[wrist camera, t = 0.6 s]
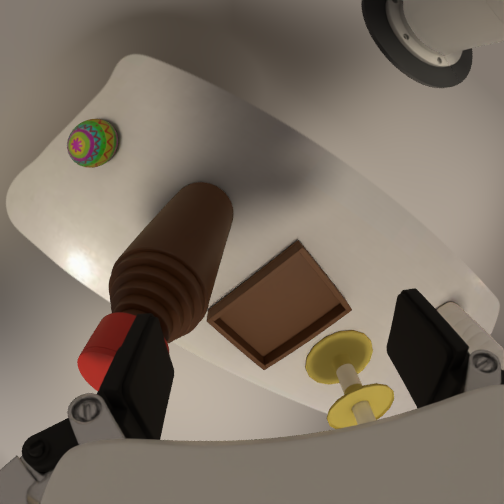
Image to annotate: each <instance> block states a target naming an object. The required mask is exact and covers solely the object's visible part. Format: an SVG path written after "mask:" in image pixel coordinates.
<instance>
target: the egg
mask: <svg viewBox="0 0 504 504" xmlns="http://www.w3.org/2000/svg"><path fill="white" fill-rule="evenodd" d="M117 145H118V136H117V133H116V131H115V129H114V127H113V126H112V125H111V124H110V123H108V122H107V121H104V120H101V119H90V120H87V121H84V122H82V123H80V124H79V125H78V126H76V127H75V128H74V129H73V131H72V132H71V134H70V136H69V138H68V142H67V149H68V153H69V155H70V157H71V159H72V160H73V161H74V162H75V163H77V164H79V165H81V166H83V167H98V166H100V165H103V164H105V163H106V162H107V161H109V160H110V159H111V158H112V156H113V155H114V153H115V151H116V149H117Z"/></svg>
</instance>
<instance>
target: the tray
mask: <svg viewBox="0 0 504 504" xmlns="http://www.w3.org/2000/svg"><path fill="white" fill-rule="evenodd" d="M350 311H352V309H351V307H350V306H349V304H348V303H347V301H346V300H345V298H344V297H343V296H342V294H341V293H340V292H339V290H338V289H337V288H336V287H335V285H334V284H333V283H332V281H331V280H330V279H329V278H328V276H327V275H326V274H325V272H324V271H323V270H322V269H321V267H320V266H319V265H318V264H317V262H316V261H315V260H314V259H313V257H312V256H311V255H310V254H309V252H308V251H307V250H306V249H305V247H304V246H303V245H302V244H301V242H300V241H299V240H298V241H296V242H295V243H294V244H292V245H291V246H290V247H289V248H287V249H286V250H285V251H284V252H282V253H281V254H280V255H279V256H277V257H276V258H275V259H273V260H272V261H271V262H270V263H268V264H267V265H266V266H264V267H263V268H262V269H261V270H259V271H258V272H257V273H256V274H254V275H253V276H252V277H250V278H249V279H248V280H246V281H245V282H244V283H243V284H241V285H240V286H239V287H237V288H236V289H235V290H234V291H232V292H231V293H230V294H228V295H227V296H226V297H224V298H223V299H222V300H221V301H219V302H218V303H217V304H215V305H214V306H213V307H211V308H210V309H209V310H208V315H207V322H208V323H209V324H210V325H211V326H213V327H214V328H215V329H216V330H217V331H218V332H219V333H221V334H222V335H223V336H224V337H225V338H226V339H227V340H229V341H230V342H231V343H232V344H233V345H234V346H235V347H237V348H238V349H239V350H240V351H241V352H243V353H244V354H245V355H246V356H247V357H248V358H250V359H251V360H252V361H253V362H254V363H256V364H257V365H258V366H259V367H261V368H262V369H263V370H265V369H267V368H268V367H270V366H272V365H273V364H275V363H276V362H278V361H280V360H281V359H283V358H284V357H286V356H287V355H289V354H290V353H292V352H293V351H295V350H296V349H298V348H299V347H301V346H302V345H304V344H305V343H307V342H308V341H310V340H311V339H313V338H314V337H315V336H317V335H318V334H320V333H321V332H323V331H324V330H325V329H327V328H328V327H330V326H331V325H332V324H334V323H335V322H337V321H338V320H339V319H341V318H342V317H343V316H345V315H346V314H347V313H349V312H350Z"/></svg>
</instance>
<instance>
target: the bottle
mask: <svg viewBox="0 0 504 504" xmlns="http://www.w3.org/2000/svg"><path fill="white" fill-rule="evenodd" d="M232 221H233V207H232V203H231V201H230V199H229V197H228V196H227V195H226V193H225V192H224V191H222V190H221V189H220V188H218V187H217V186H215V185H212V184H209V183H204V182H197V183H192V184H189V185H187V186H185V187H184V188H182V189H181V190H180V191H179V192H178V193H177V194H176V195H175V196H174V197H173V198H172V199H171V200H170V201H169V202H168V203H167V205H166V206H165V207H164V208H163V209H162V210H161V211H160V212H159V213H158V214H157V215H156V216H155V217H154V219H153V220H152V221H151V222H150V223H149V224H148V225H147V226H146V227H145V228H144V230H143V231H142V232H141V233H140V234H139V235H138V236H137V237H136V239H135V240H134V241H133V242H132V243H131V244H130V246H129V247H128V248H127V249H126V250H125V251H124V253H123V254H122V255H121V256H120V257H119V258H118V260H117V261H116V262H115V264H114V266H113V269H112V273H111V277H110V280H109V295H110V302H111V310H112V313H117V312H121V313H128V314H132V315H135V316H137V314H146V313H152V314H153V315H154V317H158V319H159V322H160V326H161V329H162V332H163V336H164V338H165V340H166V341H167V344H168V343H170V342H172V341H173V340H175V339H178V338H180V337H181V336H184V335H186V334H188V333H189V332H191V331H192V330H193V329H194V328H195V327H196V326H197V325H198V323H199V322H200V321H201V320H202V319H203V317H204V316H205V314H206V312H207V308H208V304H209V301H210V297H211V294H212V290H213V287H214V283H215V279H216V276H217V272H218V269H219V265H220V262H221V259H222V255H223V252H224V248H225V245H226V241H227V238H228V235H229V231H230V228H231V224H232Z"/></svg>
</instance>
